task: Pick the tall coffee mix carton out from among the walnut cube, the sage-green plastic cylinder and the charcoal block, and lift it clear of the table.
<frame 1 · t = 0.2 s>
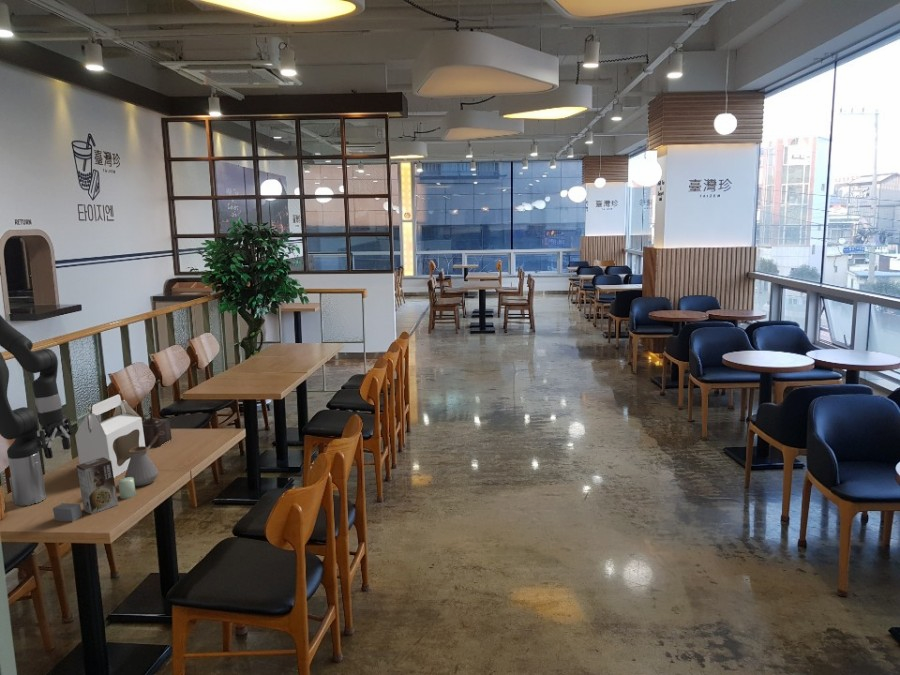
hand: (58, 453, 236), 18 cm above the table, tool pointing down, fingers open, 8 cm apart
coffee box: (101, 508, 234), on the table
pepper mill: (150, 445, 296), on the table
gable box: (115, 468, 271), on the table
sage cylinder: (128, 495, 242), on the table
walnut cube: (103, 494, 245), on the table
coffee pot: (150, 477, 259), on the table
charcoal block: (68, 519, 226), on the table
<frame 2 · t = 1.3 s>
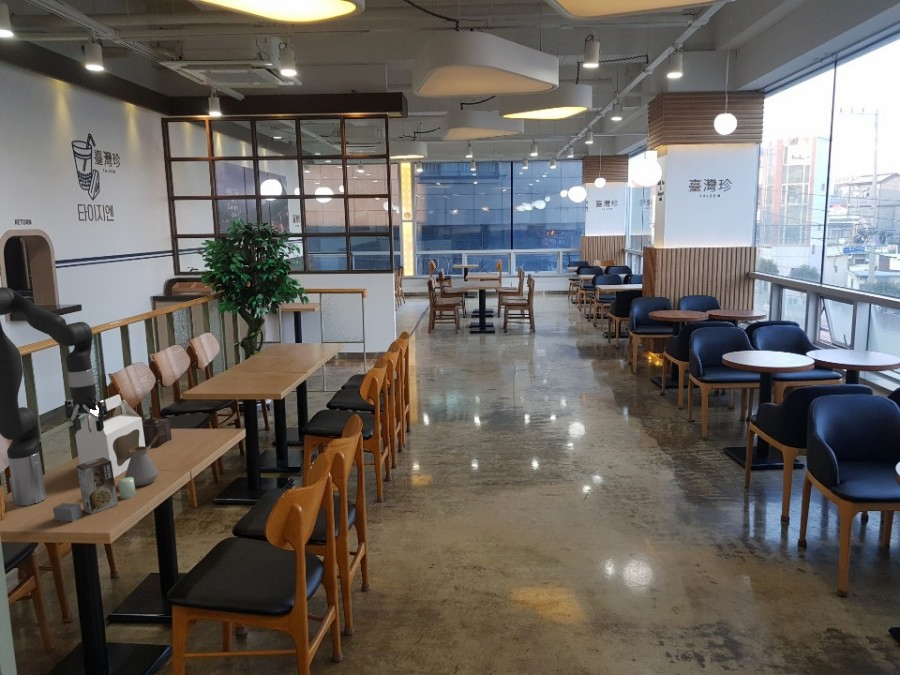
hand: (89, 430, 228), 27 cm above the table, tool pointing down, fingers open, 8 cm apart
nothing on the table moved.
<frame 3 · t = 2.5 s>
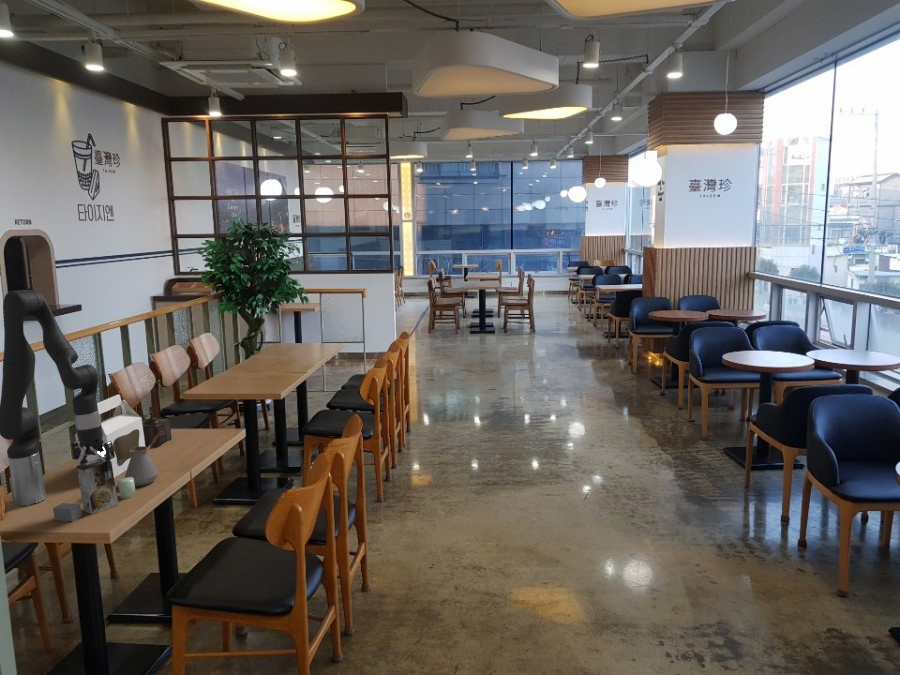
hand: (96, 471, 231), 13 cm above the table, tool pointing down, fingers open, 8 cm apart
coffee box: (101, 508, 234), on the table, touching gripper
everything else where it was.
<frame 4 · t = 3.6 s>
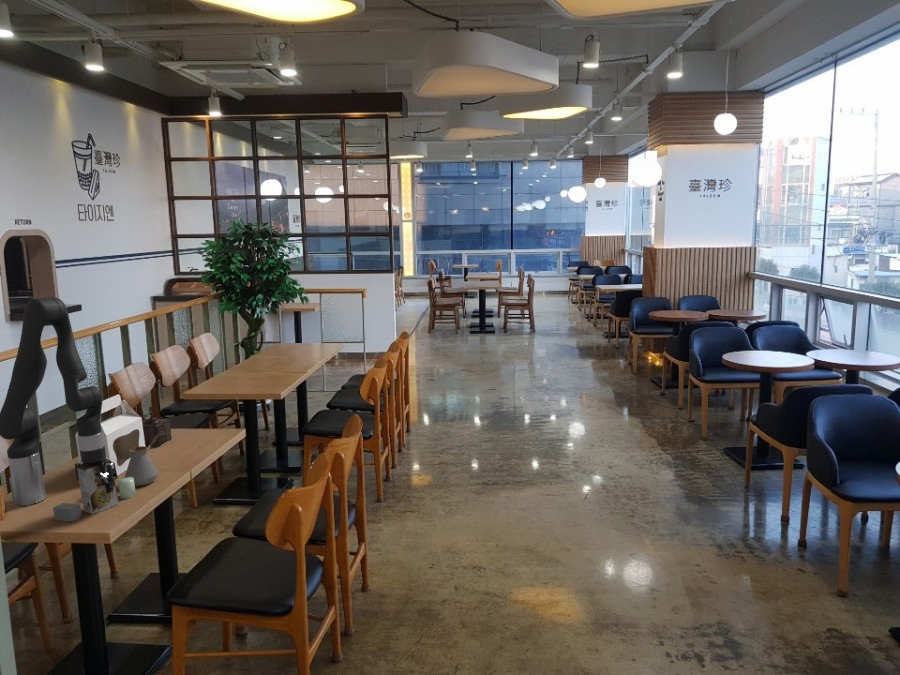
hand: (99, 491, 232), 6 cm above the table, tool pointing down, fingers open, 8 cm apart
coffee box: (101, 508, 233), on the table
everything else where it was.
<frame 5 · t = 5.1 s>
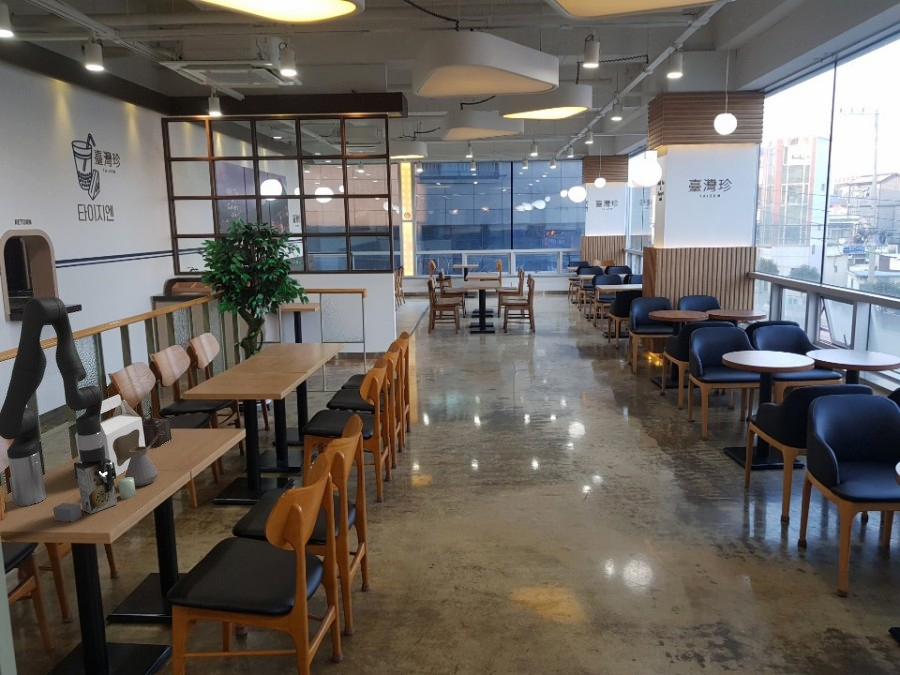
hand: (97, 491, 232), 6 cm above the table, tool pointing down, fingers closed on coffee box, 8 cm apart
coffee box: (99, 507, 233), on the table, touching gripper
everything else where it was.
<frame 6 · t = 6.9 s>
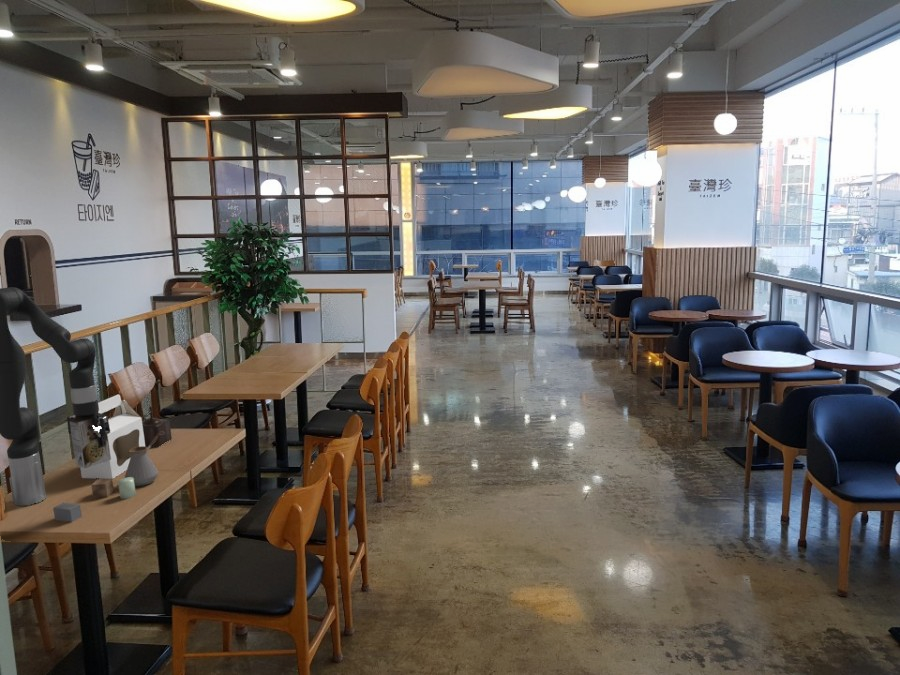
hand: (91, 446, 230), 22 cm above the table, tool pointing down, fingers closed on coffee box, 8 cm apart
coffee box: (93, 463, 231), point 16 cm above the table, touching gripper
everything else where it was.
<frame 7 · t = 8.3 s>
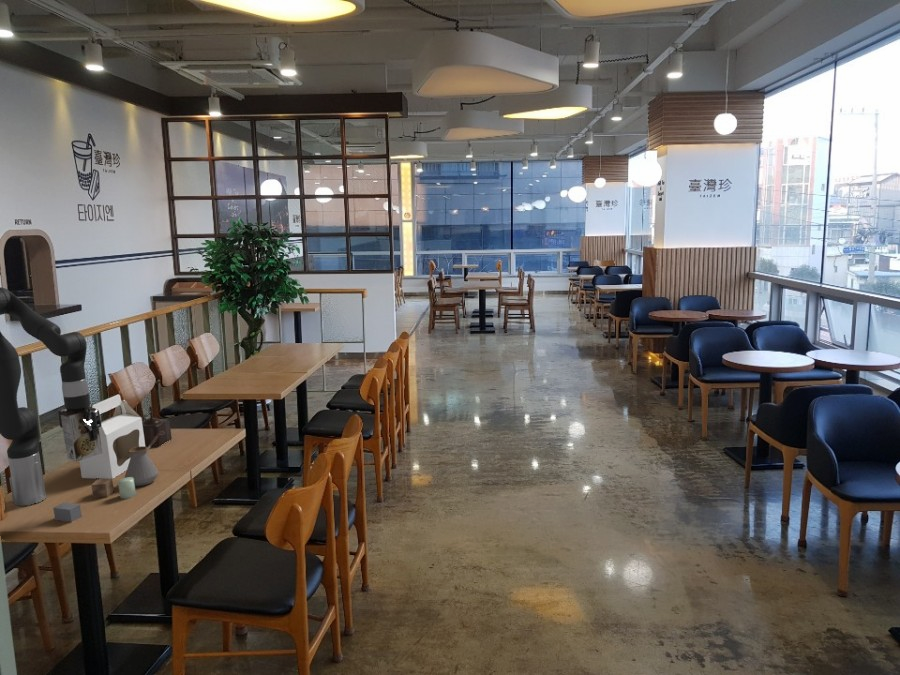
hand: (82, 440, 230), 24 cm above the table, tool pointing down, fingers closed on coffee box, 8 cm apart
coffee box: (84, 456, 231), point 18 cm above the table, touching gripper
everything else where it was.
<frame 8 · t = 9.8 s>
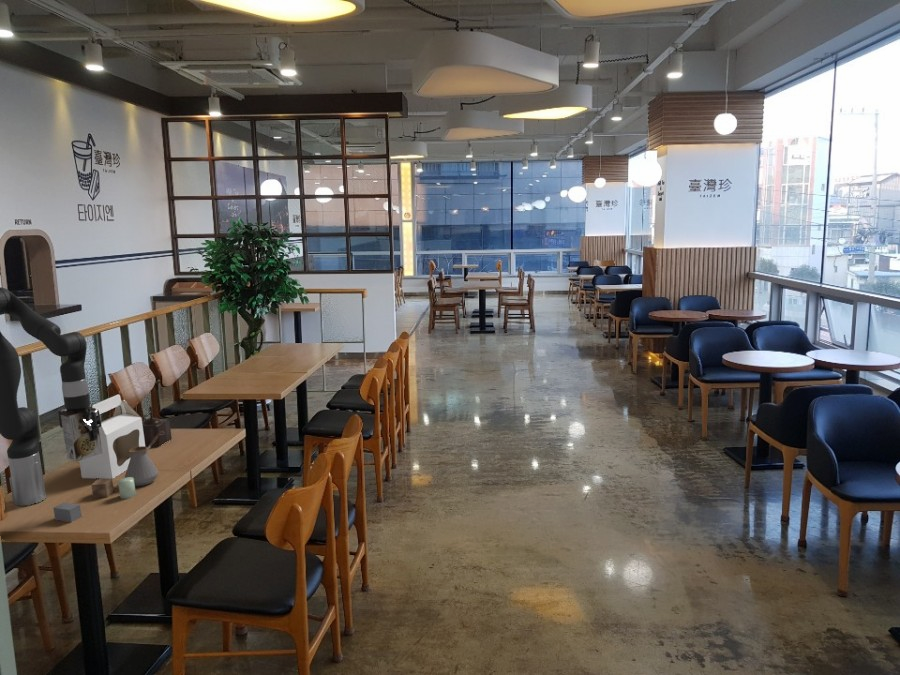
hand: (82, 440, 230), 24 cm above the table, tool pointing down, fingers closed on coffee box, 8 cm apart
coffee box: (84, 456, 231), point 18 cm above the table, touching gripper
everything else where it was.
at the end: the gripper is holding coffee box; coffee box point 18.1 cm above the table; coffee box tilted 0° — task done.
